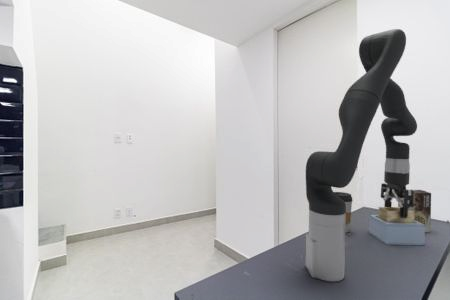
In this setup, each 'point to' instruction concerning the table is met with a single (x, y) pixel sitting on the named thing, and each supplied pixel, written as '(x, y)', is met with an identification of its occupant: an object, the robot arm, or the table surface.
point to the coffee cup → (348, 201)
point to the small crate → (394, 215)
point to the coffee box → (421, 208)
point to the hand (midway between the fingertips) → (395, 214)
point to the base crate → (397, 232)
